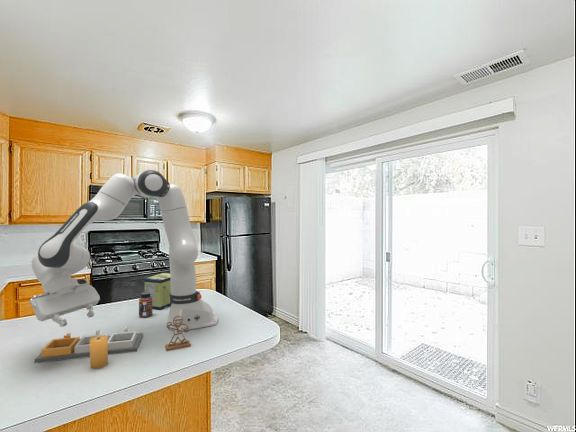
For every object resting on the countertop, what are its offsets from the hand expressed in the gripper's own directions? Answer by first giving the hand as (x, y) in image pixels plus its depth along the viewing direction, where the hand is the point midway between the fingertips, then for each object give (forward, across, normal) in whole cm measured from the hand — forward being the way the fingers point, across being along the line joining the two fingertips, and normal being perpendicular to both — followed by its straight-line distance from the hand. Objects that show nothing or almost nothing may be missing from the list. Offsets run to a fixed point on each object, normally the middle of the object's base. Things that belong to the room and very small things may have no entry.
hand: (78, 320), depth 110 cm
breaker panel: (+8, +7, +11) cm, 15 cm away
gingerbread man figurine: (+27, +22, -8) cm, 36 cm away
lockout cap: (+17, 0, +2) cm, 17 cm away
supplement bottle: (+1, +40, +18) cm, 44 cm away
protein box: (-3, +56, +22) cm, 60 cm away
